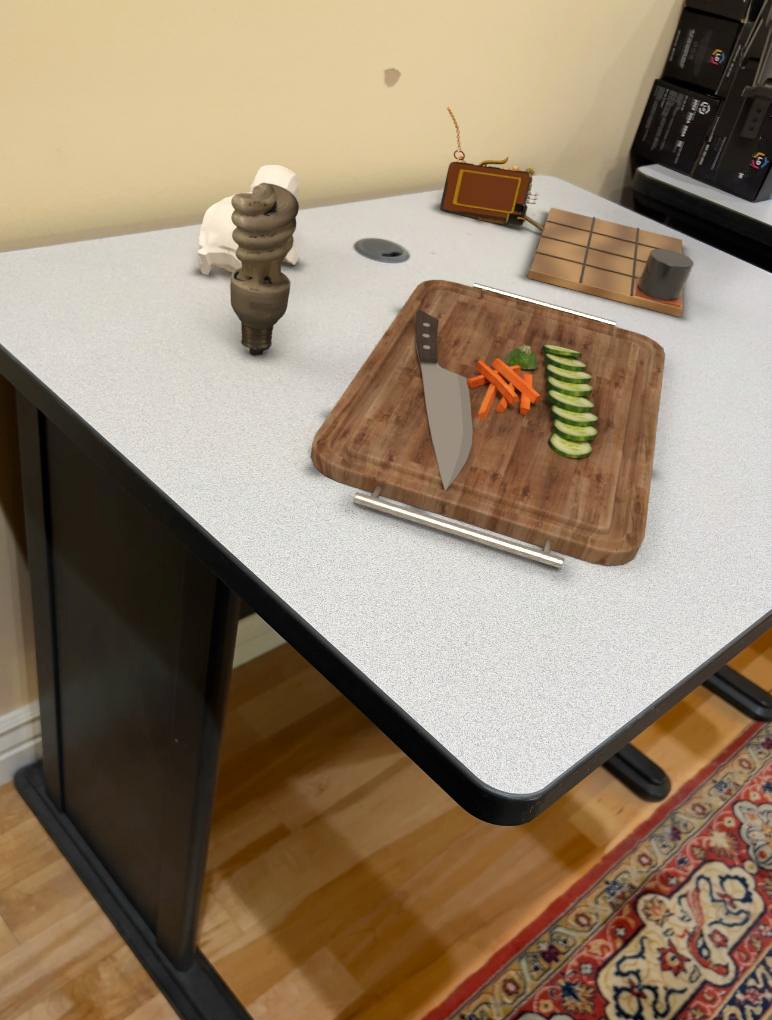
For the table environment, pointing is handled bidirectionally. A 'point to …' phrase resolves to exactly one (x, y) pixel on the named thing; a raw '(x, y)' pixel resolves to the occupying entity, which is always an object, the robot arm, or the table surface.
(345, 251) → the table surface
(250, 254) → the light bulb
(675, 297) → the dark grey short cylinder
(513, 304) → the chopping board
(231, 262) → the white lumpy sculpture
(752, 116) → the robot arm
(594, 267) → the game board
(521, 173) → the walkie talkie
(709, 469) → the table surface
